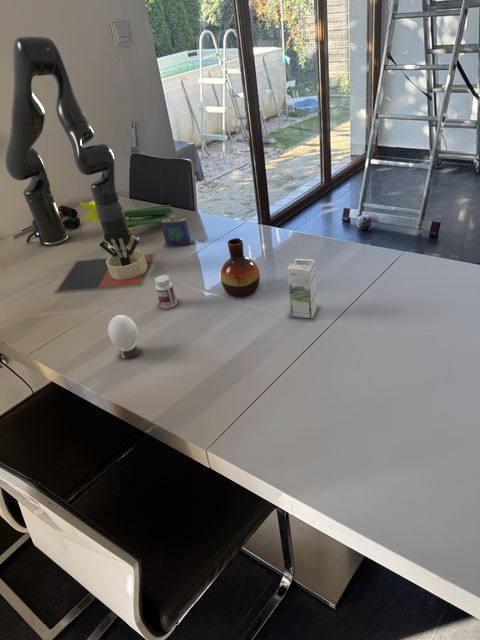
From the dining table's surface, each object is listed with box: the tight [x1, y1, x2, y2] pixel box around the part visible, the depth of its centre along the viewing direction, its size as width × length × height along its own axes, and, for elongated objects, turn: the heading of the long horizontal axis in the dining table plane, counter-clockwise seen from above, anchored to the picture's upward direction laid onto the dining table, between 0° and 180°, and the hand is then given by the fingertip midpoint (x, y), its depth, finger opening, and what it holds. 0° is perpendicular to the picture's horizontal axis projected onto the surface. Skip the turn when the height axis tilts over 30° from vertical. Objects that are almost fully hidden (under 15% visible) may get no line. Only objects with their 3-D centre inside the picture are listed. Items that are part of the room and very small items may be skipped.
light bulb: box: [107, 314, 139, 359], centre depth 115 cm, size 7×7×11 cm
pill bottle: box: [154, 274, 178, 309], centre depth 133 cm, size 5×5×8 cm
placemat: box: [57, 254, 152, 292], centre depth 155 cm, size 26×20×1 cm
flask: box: [160, 214, 193, 248], centre depth 164 cm, size 9×3×11 cm, turn 88°
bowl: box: [106, 249, 148, 280], centre depth 153 cm, size 12×12×4 cm
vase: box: [219, 237, 261, 299], centre depth 132 cm, size 11×11×15 cm
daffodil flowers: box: [78, 200, 173, 241], centre depth 174 cm, size 17×15×35 cm
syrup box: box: [286, 258, 318, 320], centre depth 120 cm, size 6×6×14 cm
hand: (127, 266), depth 154 cm, fingers closed
